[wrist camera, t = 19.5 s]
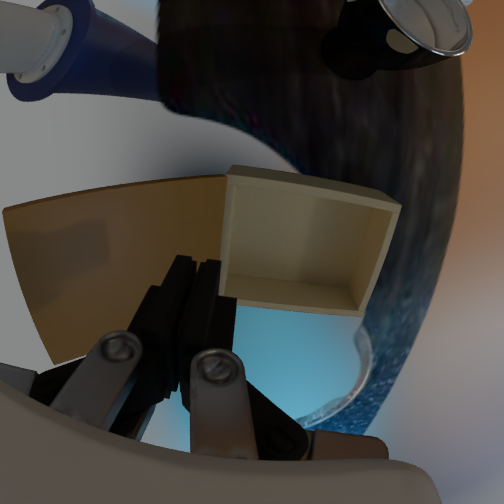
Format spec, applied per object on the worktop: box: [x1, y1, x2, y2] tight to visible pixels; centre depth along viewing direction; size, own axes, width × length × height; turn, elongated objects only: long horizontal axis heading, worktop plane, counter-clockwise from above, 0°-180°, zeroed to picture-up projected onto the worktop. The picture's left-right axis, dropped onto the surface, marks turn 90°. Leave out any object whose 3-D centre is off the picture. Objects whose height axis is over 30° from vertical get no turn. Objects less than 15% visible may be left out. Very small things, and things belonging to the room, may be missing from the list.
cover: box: [2, 174, 228, 365], centre depth 20 cm, size 16×13×5 cm
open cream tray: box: [219, 165, 402, 317], centre depth 27 cm, size 16×13×5 cm
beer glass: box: [321, 0, 473, 80], centre depth 13 cm, size 7×7×15 cm
